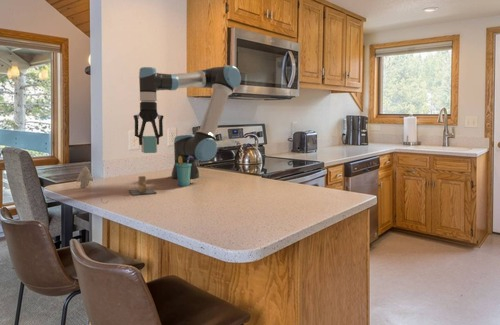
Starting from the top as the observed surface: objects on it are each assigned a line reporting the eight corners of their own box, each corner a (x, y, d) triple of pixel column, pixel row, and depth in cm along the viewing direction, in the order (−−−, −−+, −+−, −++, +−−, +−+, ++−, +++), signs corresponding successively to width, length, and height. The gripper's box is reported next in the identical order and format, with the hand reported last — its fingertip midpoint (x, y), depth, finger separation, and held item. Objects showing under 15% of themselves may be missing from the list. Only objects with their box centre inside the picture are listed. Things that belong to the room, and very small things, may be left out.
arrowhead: (78, 189, 179) (77, 167, 177) (75, 188, 180) (74, 167, 179) (94, 187, 184) (94, 166, 183) (92, 186, 186) (91, 165, 185)
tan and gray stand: (151, 189, 179) (151, 174, 178) (156, 193, 170) (156, 177, 169) (128, 191, 175) (128, 175, 174) (132, 195, 166) (132, 179, 165)
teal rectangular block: (153, 151, 187) (153, 135, 186) (156, 152, 182) (155, 136, 181) (142, 152, 184) (142, 136, 184) (144, 153, 180) (144, 136, 179)
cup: (200, 186, 188) (200, 155, 186) (187, 188, 182) (187, 156, 181) (182, 183, 198) (182, 153, 196) (169, 184, 192) (169, 154, 190)
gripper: (165, 102, 188) (166, 150, 191) (126, 101, 180) (127, 151, 183) (169, 102, 181) (170, 152, 184) (129, 100, 173) (130, 153, 176)
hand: (149, 151), depth 183 cm, fingers closed on teal rectangular block, 5 cm apart
